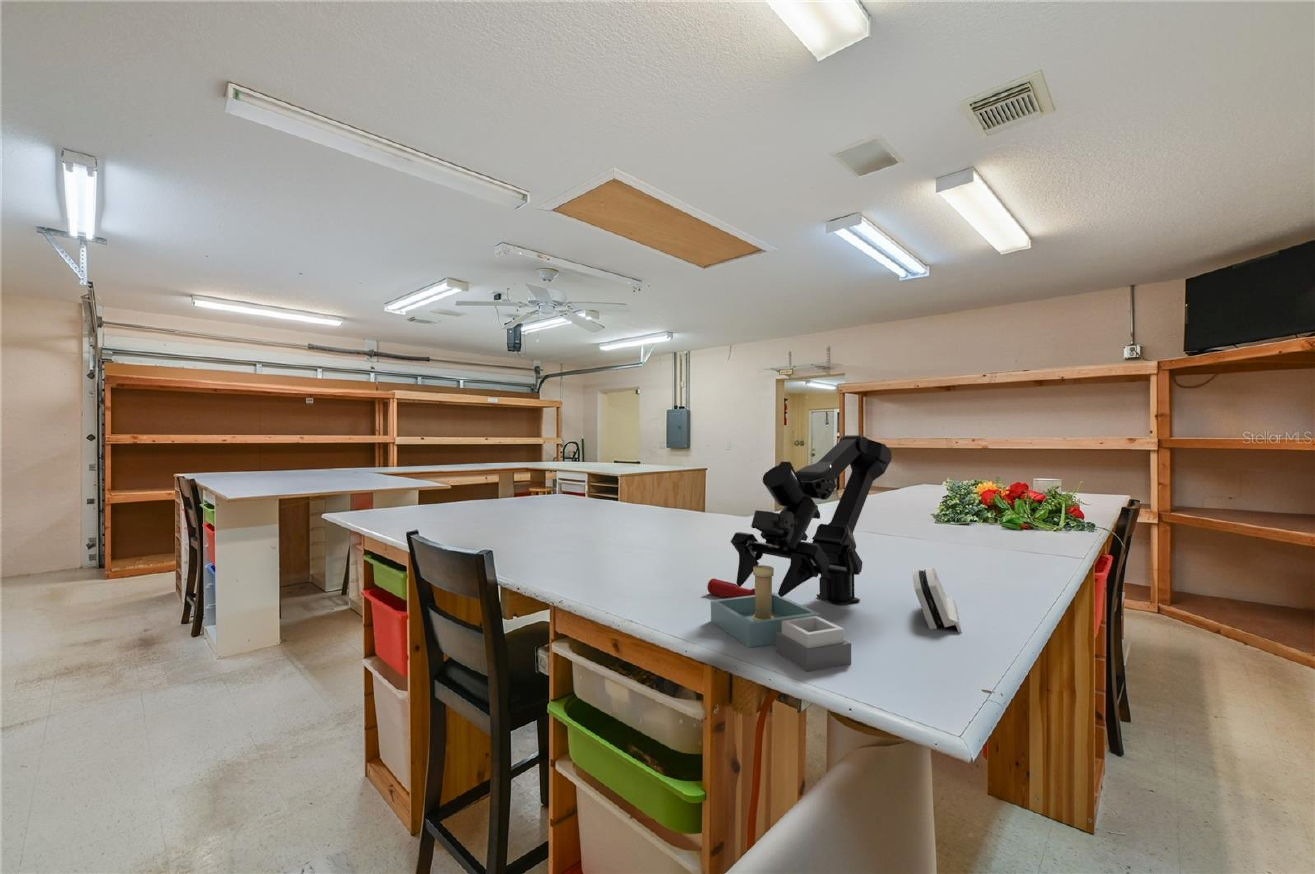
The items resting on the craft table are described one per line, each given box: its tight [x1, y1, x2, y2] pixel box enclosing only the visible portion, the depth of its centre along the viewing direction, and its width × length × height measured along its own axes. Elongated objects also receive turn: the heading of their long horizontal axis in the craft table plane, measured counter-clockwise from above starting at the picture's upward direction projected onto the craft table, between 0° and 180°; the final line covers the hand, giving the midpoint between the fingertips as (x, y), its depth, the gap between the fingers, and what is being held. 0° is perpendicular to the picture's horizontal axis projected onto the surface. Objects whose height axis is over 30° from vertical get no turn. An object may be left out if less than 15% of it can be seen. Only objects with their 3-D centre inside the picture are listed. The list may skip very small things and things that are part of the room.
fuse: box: [752, 564, 775, 621], centre depth 94 cm, size 4×4×10 cm
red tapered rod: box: [706, 578, 755, 599], centre depth 107 cm, size 4×25×4 cm, turn 43°
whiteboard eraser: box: [912, 567, 963, 634], centre depth 100 cm, size 17×5×10 cm, turn 153°
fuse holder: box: [775, 616, 852, 672], centre depth 81 cm, size 8×8×5 cm
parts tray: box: [710, 592, 821, 648], centre depth 94 cm, size 14×14×4 cm
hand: (758, 590), depth 93 cm, fingers open, 9 cm apart
